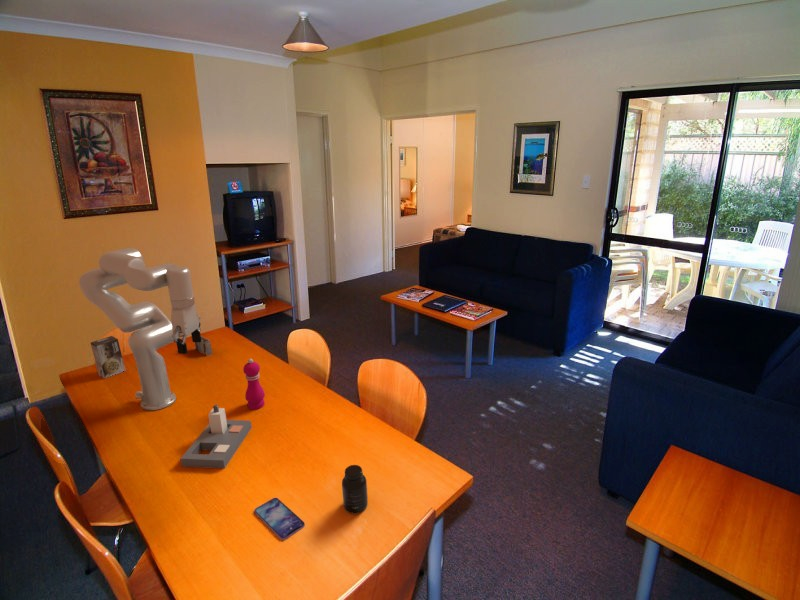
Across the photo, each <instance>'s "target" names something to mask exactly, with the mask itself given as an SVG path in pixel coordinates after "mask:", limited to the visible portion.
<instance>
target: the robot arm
mask: <svg viewBox="0 0 800 600" xmlns="http://www.w3.org/2000/svg"><path fill="white" fill-rule="evenodd" d="M98 266H99V267H98V268H94V269H90V270H87V271H86V272H84V273H82V274H81V275H80V277H79V279H78V286H79V288H80V290H81V293H82V294H83V295H84V297H85V298H86V299H87V300H88V301H89V302H90V303H92V304H93V305H95V306H96V307H97V308H98V309H100V310H101V311H102V312H103V313H104V315H106V316H107V318H108V319H109V320H110V321H111V322H112V323H113V324H114V325H115V326H116V327H117V328H118V330H120V331H121V332H123V333H131V334H130V335H129V337H128V347H129V349H130V350H131V353H132V355H133V357H134V359H135V360H134V361H135V365H136V369H137V373H138V376H139V382H140V387H141V391H140V390H137V391H136V392H135V399H139V400H141V401H140V408H141V409H143V410H146V411H158V410H162V409H165V408H167V407H169V406H171V405H172V404H174V403H175V402H176V400H177V395H176V394H175V393H174V392H171V387H170V382H169V375H168V372H167V366H166V362H165V358H164V357H163V356H162V355H161V354H160V353H158V351H157V350H159V349H160V348H161V349H162V348H163V347H165V346H167V345H170V344H171V343H173V342H174V343H175V344H176V347H177V353H178V354H180V355H187V354H188V346H187V342H186V338H187V337H188V336H190V335H191V340H192V341H191V342H193V343H195V342H201V336H202V335H201V321H202V320H201V316H200V317H199V315H198V311H197V307H196V303H195V302H196V301H195V296H194V295H195V294H194V289H193V288H194V287H193V282H192V275H191V271H190V269H189V268H188V267H187V266H178V265H177V264H174V263H170V262H169V263H164V264H159V265H155V266H151V267H148V268H147V266H146V263H145V261H144V257H143V255H142V253H141V252H140V251H139V250H138V249H136V248H133V247H127V248H121V249H116V250H112V251H107V252H105V253H104V254H102V255H101V256H100V257H99V259H98ZM126 284H127V285H128V286H129V287H130V288H132V289H135V290H138V291H143V292H152V291H155V290H159V289H161V288H165V287H167V289H168V294H169V295H168V296H169V302H170V306H171V311H170V312H171V313H170V314H171V315H170V319H171V320H170V319H169V318H168V316H167V315H166V314H165V313H164V312H163V311H162V310H161V308H159V307H158V306H157V305H156V304H154V303H153V302H150V301H141V302H139V303H135V304H130V303H129V302H128V301H127V300H126V299H125V298H124V297H123V296H121V295H120V294H118V293H116V292H113V291H110V290H109V289H112V288H116V287H120V286H123V285H126Z"/></svg>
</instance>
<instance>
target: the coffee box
mask: <svg viewBox="0 0 800 600" xmlns="http://www.w3.org/2000/svg"><path fill="white" fill-rule="evenodd" d="M90 346H91V347H90V348H91V350H92V354H93V358H94V361H95V366H96V369H97V373H98V376H99V377H101V376H102V377H101V378H103V379H104V378H105V379H107V377H108V378H110V376H111V377H113V376H116V375H119V374H121V373H124V372H126V367H125V363H124V358H123V354H122V352H121V351H122V350H121V347H120V342H119V339H118V338H117V337H115V336H112V335H110V336H107V337H104V338H100V339H97V340H94V341H92V342H90ZM123 371H124V372H123ZM115 374H116V375H115ZM112 375H113V376H112Z"/></svg>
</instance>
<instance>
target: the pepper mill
mask: <svg viewBox="0 0 800 600" xmlns="http://www.w3.org/2000/svg"><path fill="white" fill-rule="evenodd" d="M242 370H243V374H244V375H245V380H246V381H247V388H246V391H245V400H246V401H247V407H248V409H250V410H259V409H261V408H263V407H264V406H265V403H266V402H265V399H264V398H265V394H266V393H265V391H264V389H263V387H262V385H261V384H260V381H259V380H260V379H259V378H260V370H261V368H260V364H259V363H258V362H256V361H254V360H253V359H252V358H249V359H248V361H247V363H245V364H244V366H243V368H242Z"/></svg>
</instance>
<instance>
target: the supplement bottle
mask: <svg viewBox="0 0 800 600" xmlns="http://www.w3.org/2000/svg"><path fill="white" fill-rule="evenodd" d="M341 488H342V489H341V490H342V503H343V508H344V510H345V511H346V512H348V513H350V514H359V513H360V514H361V513H362V512H364V511H365V510H366V509H367V507H368V504H369V503H368V501H369V499H368V483H367V478H366V476H365V475H364V473H363V468H362V467H361V465H357V464H351V465H348V466H347V467H346V468H345V469H344V476H343V478H342V479H341Z"/></svg>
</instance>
